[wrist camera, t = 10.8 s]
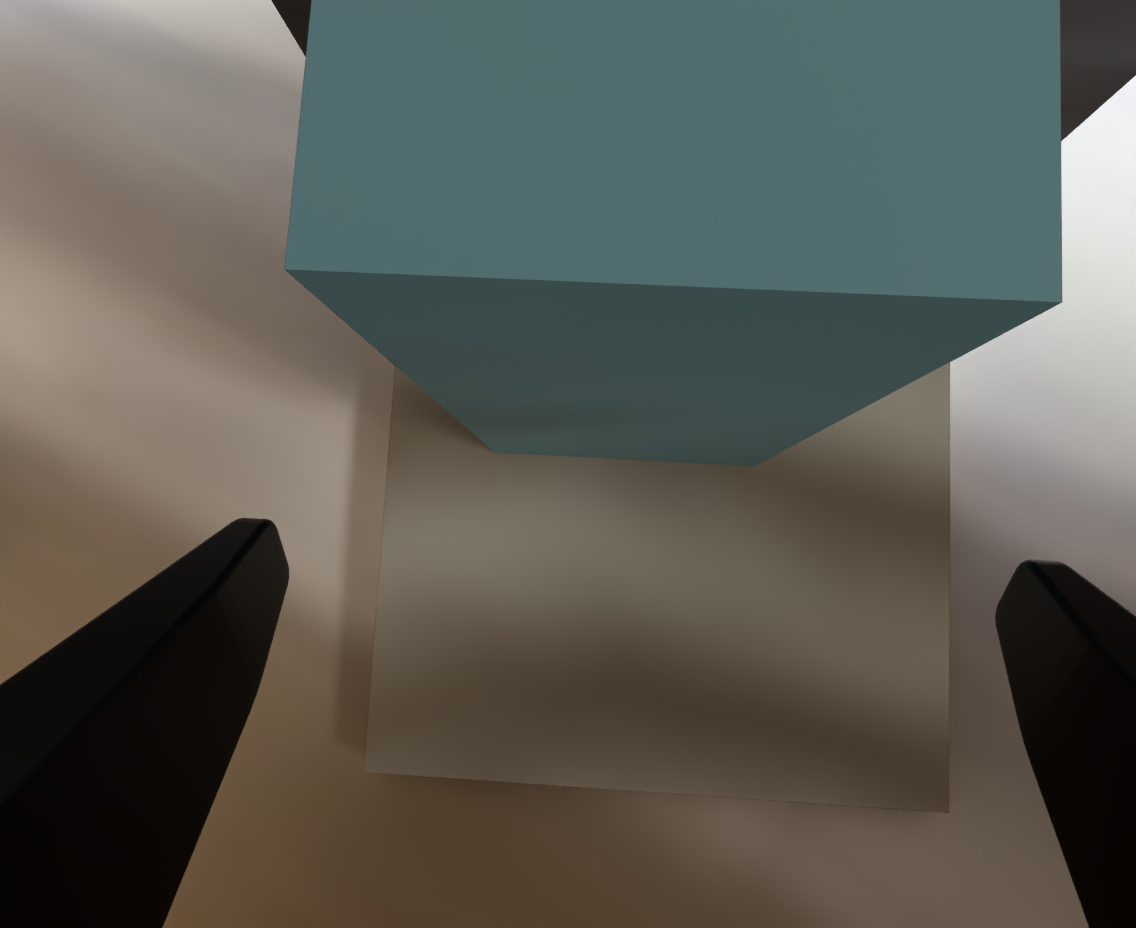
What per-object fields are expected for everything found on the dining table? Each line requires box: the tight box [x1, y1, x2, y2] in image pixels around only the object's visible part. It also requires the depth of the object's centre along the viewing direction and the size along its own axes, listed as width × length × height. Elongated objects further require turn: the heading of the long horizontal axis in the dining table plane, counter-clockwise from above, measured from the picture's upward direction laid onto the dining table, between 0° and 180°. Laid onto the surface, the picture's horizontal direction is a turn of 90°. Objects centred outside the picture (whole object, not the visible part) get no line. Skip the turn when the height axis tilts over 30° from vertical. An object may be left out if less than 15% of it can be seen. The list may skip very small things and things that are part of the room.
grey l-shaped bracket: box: [272, 0, 1136, 813], centre depth 15 cm, size 16×14×11 cm
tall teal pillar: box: [285, 0, 1062, 467], centre depth 13 cm, size 4×6×13 cm, turn 87°
